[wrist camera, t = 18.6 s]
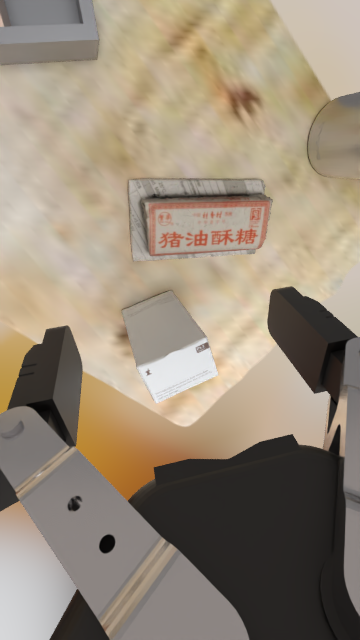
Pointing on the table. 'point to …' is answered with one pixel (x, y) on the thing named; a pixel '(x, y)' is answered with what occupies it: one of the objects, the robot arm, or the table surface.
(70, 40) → the grey open tray
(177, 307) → the skincare box
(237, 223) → the packaged product
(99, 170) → the table surface
